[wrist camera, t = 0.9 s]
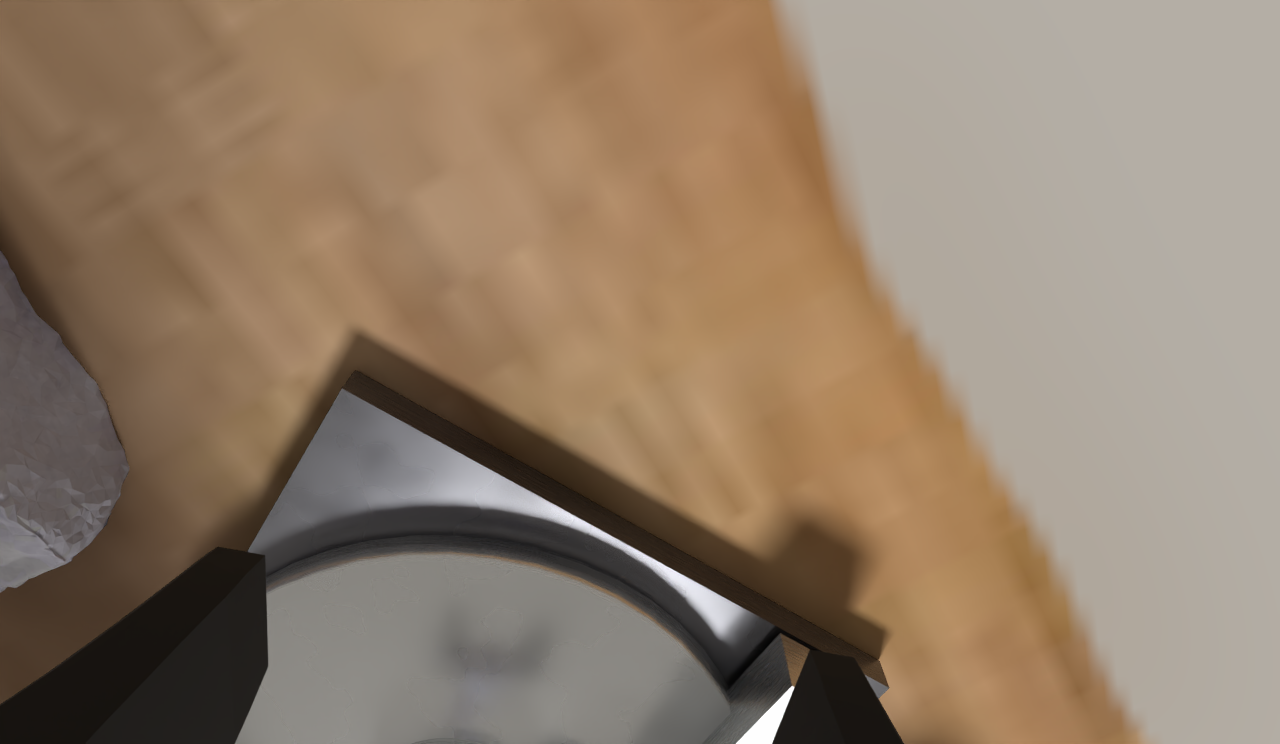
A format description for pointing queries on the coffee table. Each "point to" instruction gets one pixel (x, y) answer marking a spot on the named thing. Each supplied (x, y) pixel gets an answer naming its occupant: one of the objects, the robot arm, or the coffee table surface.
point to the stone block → (49, 445)
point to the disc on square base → (497, 605)
